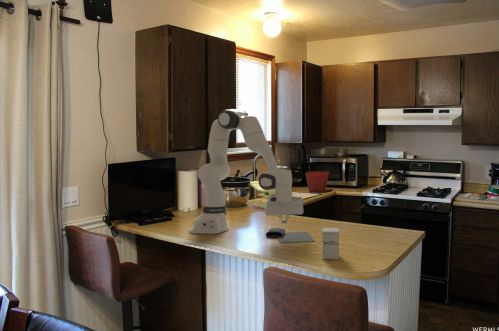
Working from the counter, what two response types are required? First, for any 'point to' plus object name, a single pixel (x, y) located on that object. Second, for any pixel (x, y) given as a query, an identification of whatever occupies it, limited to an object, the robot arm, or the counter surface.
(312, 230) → the counter surface
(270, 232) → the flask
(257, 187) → the slatted curved stool
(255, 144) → the robot arm
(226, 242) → the counter surface
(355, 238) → the counter surface
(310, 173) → the plant pot
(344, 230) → the counter surface
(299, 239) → the mat
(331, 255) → the supplement box
